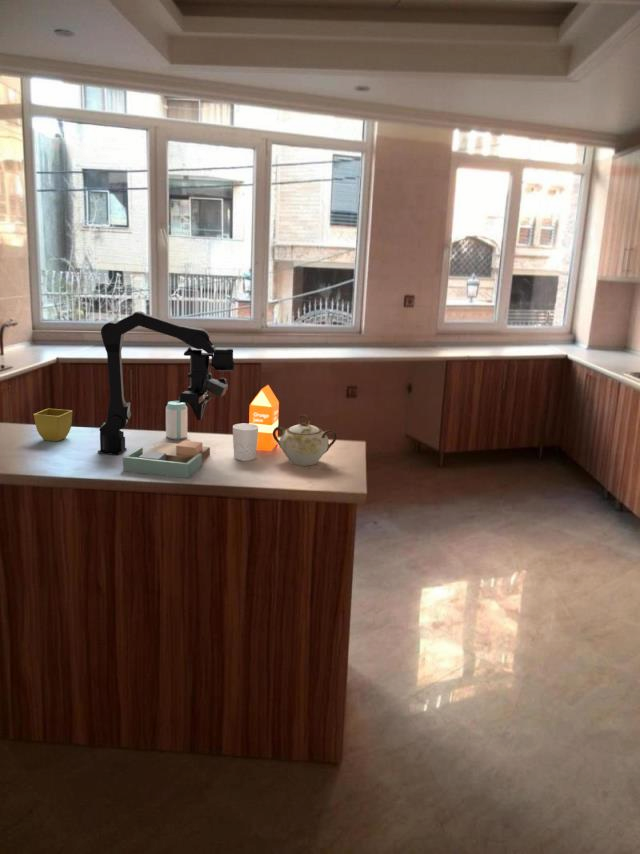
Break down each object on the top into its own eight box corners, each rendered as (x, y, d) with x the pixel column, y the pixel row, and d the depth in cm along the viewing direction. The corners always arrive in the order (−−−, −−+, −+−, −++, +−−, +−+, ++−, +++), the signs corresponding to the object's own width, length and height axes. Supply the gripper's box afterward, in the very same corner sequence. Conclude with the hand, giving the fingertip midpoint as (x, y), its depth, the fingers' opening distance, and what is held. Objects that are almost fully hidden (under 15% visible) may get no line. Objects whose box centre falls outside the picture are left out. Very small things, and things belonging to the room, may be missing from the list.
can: (164, 435, 225) (164, 400, 222) (185, 433, 227) (185, 399, 224) (167, 440, 218) (167, 405, 215) (189, 439, 221) (189, 404, 218)
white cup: (253, 462, 200) (254, 431, 198) (228, 459, 202) (229, 428, 199) (260, 455, 208) (261, 424, 205) (236, 452, 209) (237, 422, 207)
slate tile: (138, 465, 190) (138, 457, 190) (146, 459, 196) (146, 451, 196) (158, 467, 190) (158, 458, 189) (165, 461, 196) (165, 452, 195)
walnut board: (144, 460, 197) (144, 452, 196) (161, 449, 208) (161, 441, 208) (196, 466, 194) (196, 458, 194) (209, 454, 206) (210, 447, 205)
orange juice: (277, 443, 222) (280, 385, 217) (271, 451, 213) (273, 390, 208) (255, 441, 223) (256, 383, 218) (247, 448, 214) (249, 388, 209)
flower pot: (34, 441, 210) (32, 413, 207) (49, 434, 218) (48, 407, 216) (59, 444, 208) (58, 416, 206) (74, 437, 217) (73, 410, 214)
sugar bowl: (266, 466, 198) (267, 417, 194) (277, 452, 212) (278, 406, 209) (331, 472, 195) (334, 423, 192) (337, 458, 210) (340, 412, 206)
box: (123, 470, 187) (122, 457, 186) (139, 459, 197) (139, 447, 196) (188, 478, 184) (188, 464, 183) (201, 466, 194) (201, 453, 193)
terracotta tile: (176, 453, 197) (176, 445, 196) (183, 448, 202) (183, 440, 202) (195, 455, 196) (195, 447, 195) (202, 450, 201) (202, 442, 201)
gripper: (214, 377, 191) (214, 429, 195) (234, 367, 209) (233, 415, 213) (178, 374, 193) (178, 426, 197) (200, 364, 210) (200, 412, 214)
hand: (199, 419), depth 205 cm, fingers closed
